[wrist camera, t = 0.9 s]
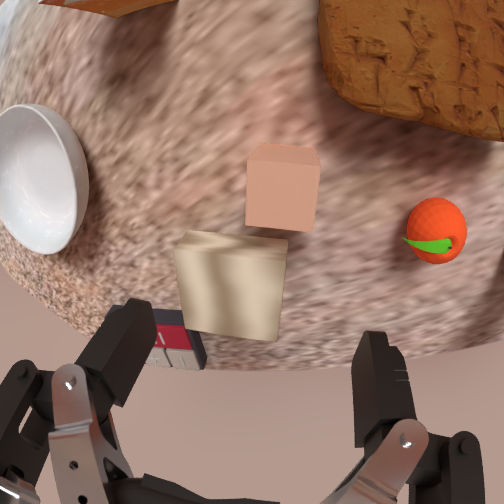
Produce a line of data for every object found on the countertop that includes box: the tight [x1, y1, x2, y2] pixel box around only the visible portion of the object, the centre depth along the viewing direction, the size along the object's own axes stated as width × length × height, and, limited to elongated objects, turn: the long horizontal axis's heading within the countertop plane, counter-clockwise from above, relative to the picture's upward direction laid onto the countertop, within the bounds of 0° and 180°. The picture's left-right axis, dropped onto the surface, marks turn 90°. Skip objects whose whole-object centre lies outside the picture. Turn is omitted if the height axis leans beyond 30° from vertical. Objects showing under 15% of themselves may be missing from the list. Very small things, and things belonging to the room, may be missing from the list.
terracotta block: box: [245, 143, 321, 232], centre depth 26 cm, size 6×6×8 cm
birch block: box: [173, 230, 288, 342], centre depth 35 cm, size 12×12×5 cm
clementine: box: [402, 198, 467, 264], centre depth 26 cm, size 8×7×7 cm
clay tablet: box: [317, 0, 504, 142], centre depth 16 cm, size 22×17×8 cm
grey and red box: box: [105, 305, 207, 371], centre depth 44 cm, size 11×4×15 cm
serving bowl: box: [0, 104, 89, 255], centre depth 30 cm, size 21×21×7 cm
